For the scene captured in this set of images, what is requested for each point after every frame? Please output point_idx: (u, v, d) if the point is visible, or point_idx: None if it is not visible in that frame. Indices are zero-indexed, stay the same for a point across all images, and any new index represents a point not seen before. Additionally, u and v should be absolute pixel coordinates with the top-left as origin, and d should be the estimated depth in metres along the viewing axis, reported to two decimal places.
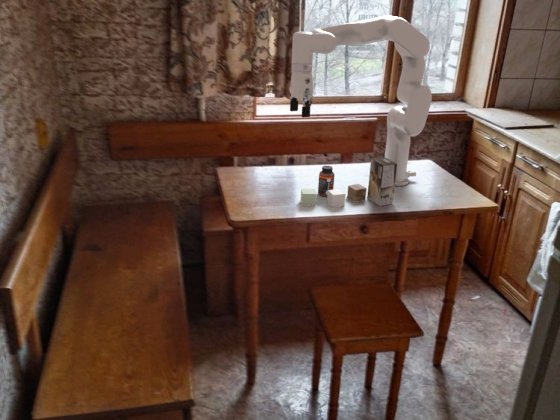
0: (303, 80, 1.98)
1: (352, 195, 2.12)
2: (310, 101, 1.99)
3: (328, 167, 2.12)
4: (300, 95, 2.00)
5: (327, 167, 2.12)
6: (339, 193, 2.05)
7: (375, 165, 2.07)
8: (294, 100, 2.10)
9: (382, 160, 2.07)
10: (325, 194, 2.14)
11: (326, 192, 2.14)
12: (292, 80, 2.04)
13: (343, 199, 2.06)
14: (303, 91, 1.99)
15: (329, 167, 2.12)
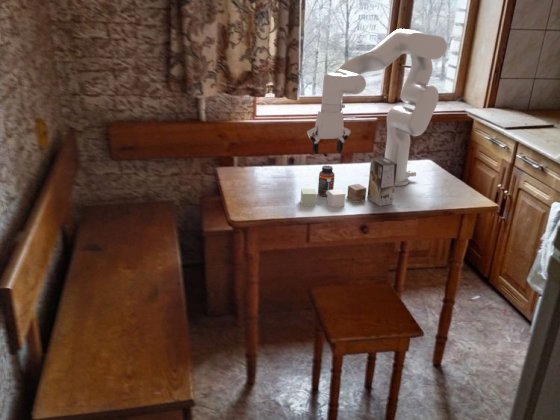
0: None
1: (352, 195, 2.12)
2: None
3: (328, 167, 2.12)
4: (341, 133, 2.06)
5: (327, 167, 2.12)
6: (339, 193, 2.05)
7: (375, 165, 2.07)
8: None
9: (382, 160, 2.07)
10: (325, 194, 2.14)
11: (326, 192, 2.14)
12: (326, 122, 2.02)
13: (343, 199, 2.06)
14: None
15: (329, 167, 2.12)
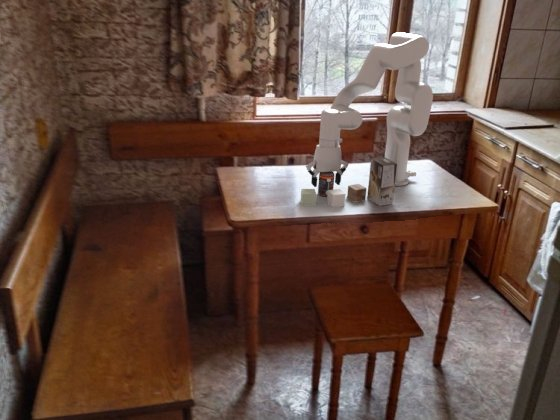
0: (340, 152, 2.10)
1: (352, 195, 2.12)
2: None
3: None
4: (338, 166, 2.12)
5: None
6: (339, 193, 2.05)
7: (375, 165, 2.07)
8: None
9: (382, 160, 2.07)
10: (325, 194, 2.14)
11: (326, 192, 2.14)
12: (324, 157, 2.08)
13: (343, 199, 2.06)
14: None
15: None
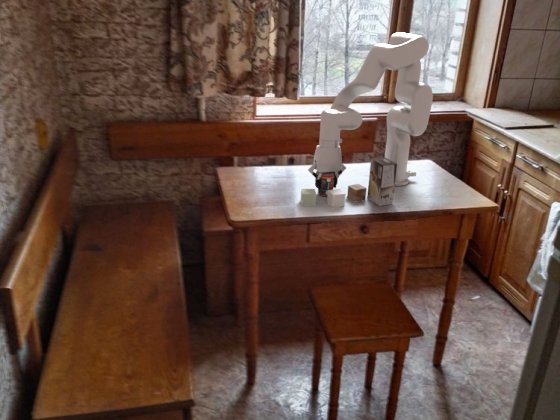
0: None
1: (352, 195, 2.12)
2: None
3: None
4: (339, 167, 2.12)
5: None
6: (339, 193, 2.05)
7: (375, 165, 2.07)
8: (319, 177, 2.13)
9: (382, 160, 2.07)
10: (325, 194, 2.14)
11: (326, 192, 2.14)
12: (324, 157, 2.08)
13: (343, 199, 2.06)
14: None
15: None
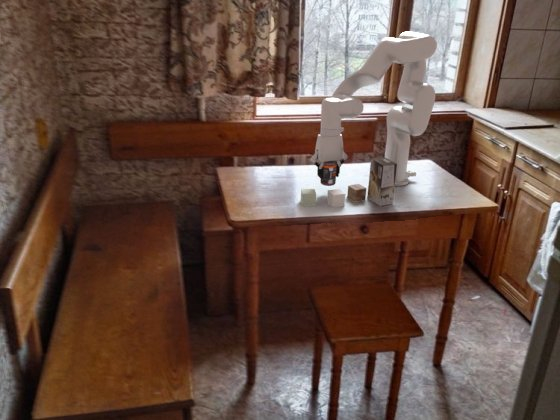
0: (342, 141, 2.09)
1: (352, 195, 2.12)
2: None
3: None
4: (341, 155, 2.10)
5: None
6: (339, 193, 2.05)
7: (375, 165, 2.07)
8: (321, 166, 2.12)
9: (382, 160, 2.07)
10: (328, 183, 2.13)
11: (328, 181, 2.12)
12: (326, 146, 2.06)
13: (343, 199, 2.06)
14: None
15: None
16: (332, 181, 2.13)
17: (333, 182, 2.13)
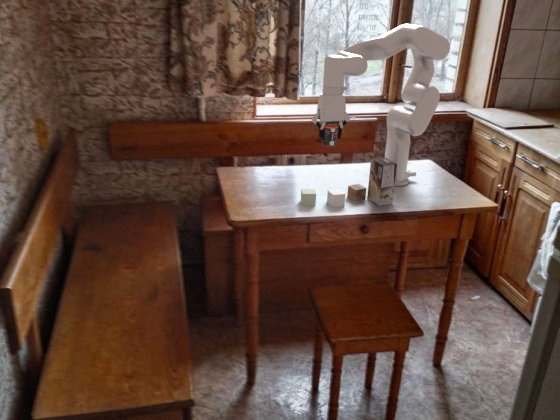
0: None
1: (352, 195, 2.12)
2: None
3: None
4: (343, 116, 2.04)
5: None
6: (339, 193, 2.05)
7: (375, 165, 2.07)
8: None
9: (382, 160, 2.07)
10: (329, 145, 2.06)
11: (330, 143, 2.06)
12: (328, 105, 2.00)
13: (343, 199, 2.06)
14: None
15: None
16: (334, 142, 2.06)
17: (335, 144, 2.07)
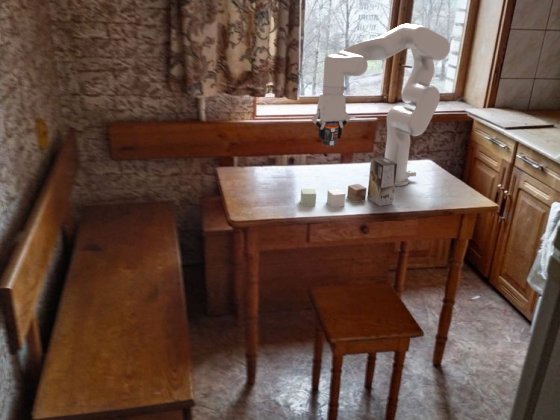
0: None
1: (352, 195, 2.12)
2: None
3: None
4: (343, 116, 2.04)
5: None
6: (339, 193, 2.05)
7: (375, 165, 2.07)
8: None
9: (382, 160, 2.07)
10: (329, 145, 2.06)
11: (330, 143, 2.06)
12: (328, 105, 2.00)
13: (343, 199, 2.06)
14: None
15: None
16: (334, 142, 2.06)
17: (335, 144, 2.07)
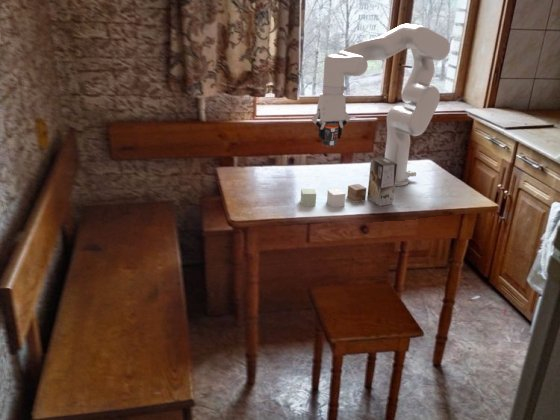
0: None
1: (352, 195, 2.12)
2: None
3: None
4: (343, 116, 2.04)
5: None
6: (339, 193, 2.05)
7: (375, 165, 2.07)
8: None
9: (382, 160, 2.07)
10: (329, 145, 2.06)
11: (330, 143, 2.06)
12: (328, 105, 2.00)
13: (343, 199, 2.06)
14: None
15: None
16: (334, 142, 2.06)
17: (335, 144, 2.07)
